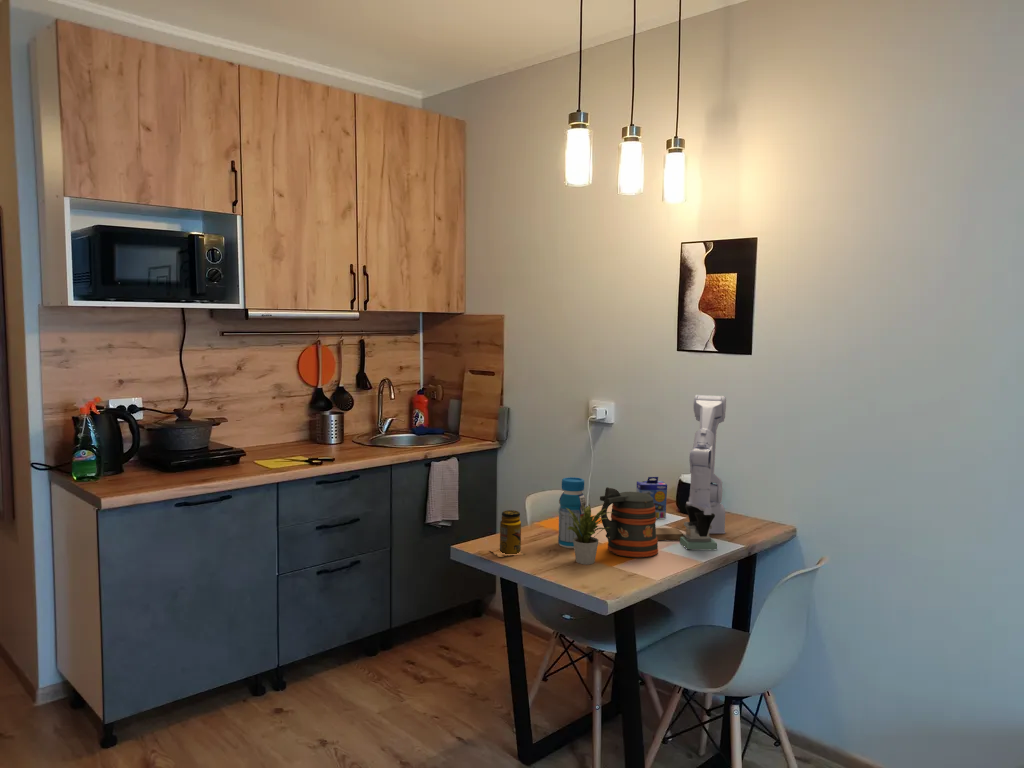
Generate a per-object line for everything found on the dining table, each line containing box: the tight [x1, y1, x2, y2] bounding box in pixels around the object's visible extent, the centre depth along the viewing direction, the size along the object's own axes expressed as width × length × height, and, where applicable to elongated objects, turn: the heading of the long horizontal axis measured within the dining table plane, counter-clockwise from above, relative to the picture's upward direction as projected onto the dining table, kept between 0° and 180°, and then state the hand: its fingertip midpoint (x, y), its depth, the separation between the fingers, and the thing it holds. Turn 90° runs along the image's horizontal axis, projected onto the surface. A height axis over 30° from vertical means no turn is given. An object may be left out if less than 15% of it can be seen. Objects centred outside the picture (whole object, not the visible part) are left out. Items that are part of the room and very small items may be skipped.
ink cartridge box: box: [635, 476, 668, 519], centre depth 258 cm, size 10×6×14 cm, turn 96°
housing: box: [683, 521, 712, 542], centre depth 223 cm, size 7×4×5 cm, turn 95°
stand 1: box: [656, 527, 685, 541], centre depth 233 cm, size 9×7×2 cm
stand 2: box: [679, 537, 718, 550], centre depth 224 cm, size 9×7×2 cm
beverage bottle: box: [557, 476, 587, 549], centre depth 223 cm, size 8×8×20 cm
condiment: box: [499, 509, 522, 554], centre depth 214 cm, size 7×8×12 cm
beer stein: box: [599, 487, 659, 559], centre depth 216 cm, size 19×15×20 cm
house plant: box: [566, 504, 614, 566], centre depth 206 cm, size 14×14×16 cm
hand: (698, 532), depth 224 cm, fingers open, 7 cm apart
